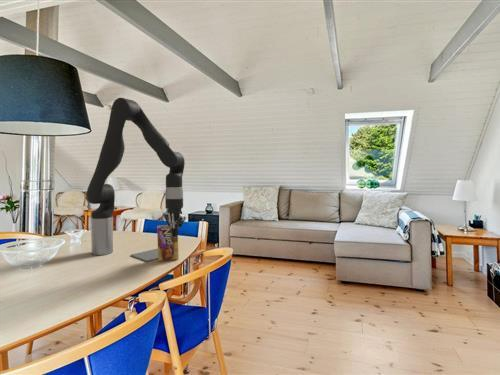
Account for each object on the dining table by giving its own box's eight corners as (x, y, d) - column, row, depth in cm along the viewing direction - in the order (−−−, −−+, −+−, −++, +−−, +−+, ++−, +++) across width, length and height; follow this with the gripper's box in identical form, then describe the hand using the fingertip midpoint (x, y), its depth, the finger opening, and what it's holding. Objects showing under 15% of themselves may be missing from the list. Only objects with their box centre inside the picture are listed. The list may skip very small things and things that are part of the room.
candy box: (178, 257, 132) (177, 224, 133) (178, 259, 128) (178, 225, 129) (157, 259, 129) (157, 225, 130) (158, 261, 125) (157, 226, 126)
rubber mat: (130, 255, 134) (130, 254, 134) (160, 249, 146) (160, 247, 146) (147, 262, 125) (147, 260, 125) (177, 254, 138) (177, 252, 137)
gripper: (158, 197, 126) (158, 236, 127) (176, 198, 118) (177, 240, 119) (172, 196, 132) (172, 233, 133) (190, 197, 124) (191, 237, 125)
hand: (174, 236), depth 126 cm, fingers closed
